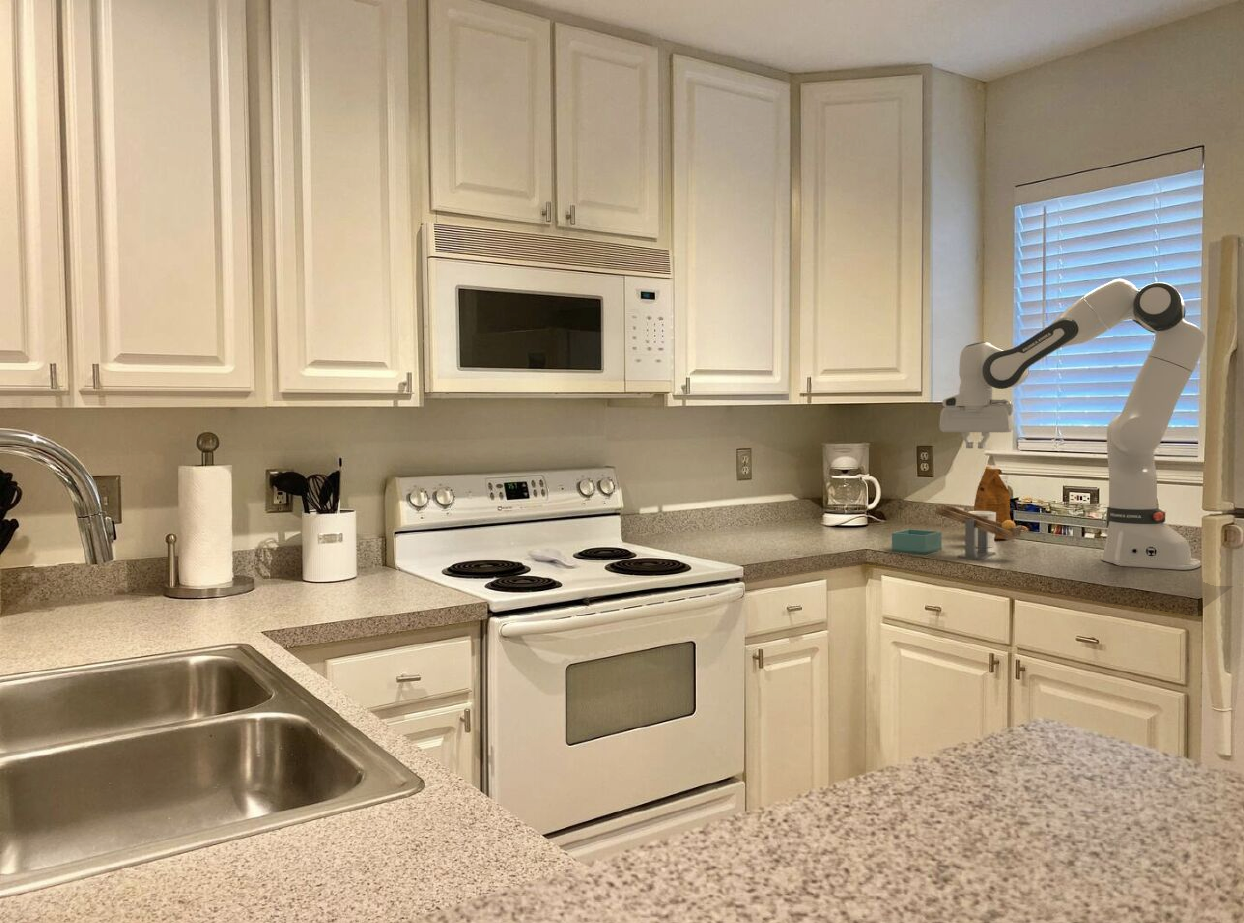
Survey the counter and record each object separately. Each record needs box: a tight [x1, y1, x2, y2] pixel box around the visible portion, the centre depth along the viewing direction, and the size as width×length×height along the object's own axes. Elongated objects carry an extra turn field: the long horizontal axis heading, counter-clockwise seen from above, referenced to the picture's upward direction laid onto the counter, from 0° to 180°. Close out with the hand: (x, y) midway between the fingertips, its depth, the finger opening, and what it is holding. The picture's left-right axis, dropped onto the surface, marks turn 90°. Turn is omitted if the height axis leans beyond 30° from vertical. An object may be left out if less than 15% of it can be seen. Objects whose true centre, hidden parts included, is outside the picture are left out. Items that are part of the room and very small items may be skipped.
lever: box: [934, 504, 1023, 541], centre depth 263 cm, size 22×13×3 cm, turn 47°
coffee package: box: [973, 466, 1012, 541], centre depth 293 cm, size 10×12×22 cm
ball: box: [1002, 519, 1017, 531], centre depth 255 cm, size 4×4×4 cm
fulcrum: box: [957, 516, 996, 561], centre depth 261 cm, size 6×11×11 cm, turn 137°
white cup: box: [968, 510, 996, 549], centre depth 278 cm, size 8×8×10 cm
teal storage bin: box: [891, 528, 943, 555], centre depth 273 cm, size 10×10×5 cm
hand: (975, 448), depth 271 cm, fingers open, 2 cm apart
